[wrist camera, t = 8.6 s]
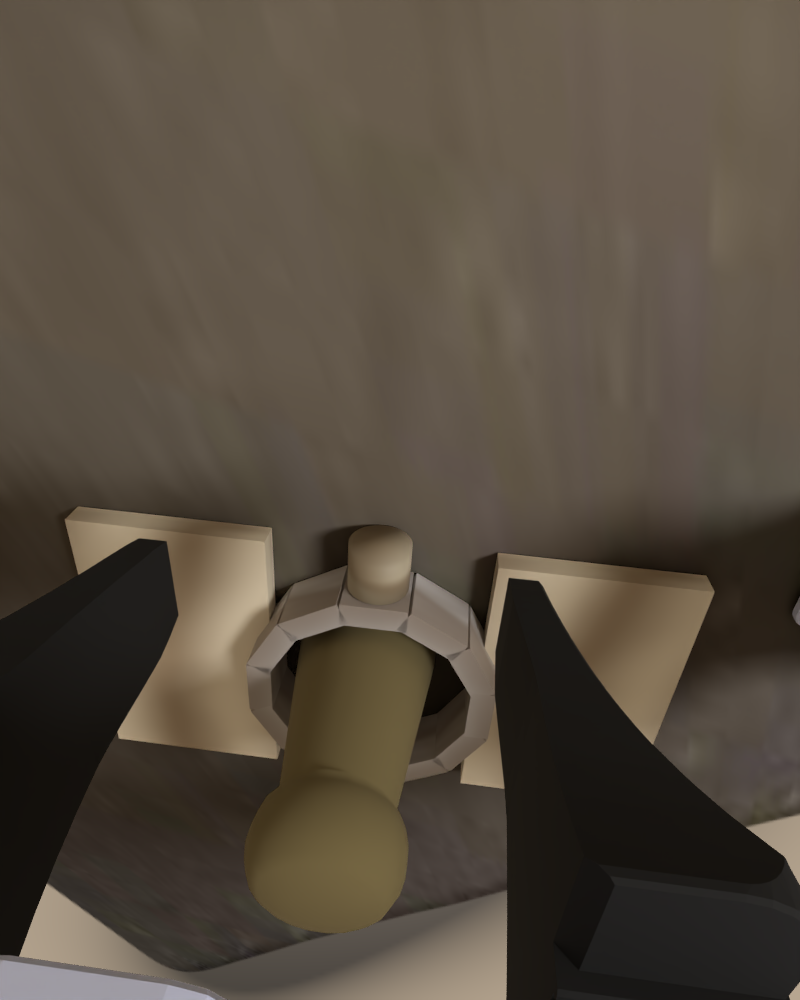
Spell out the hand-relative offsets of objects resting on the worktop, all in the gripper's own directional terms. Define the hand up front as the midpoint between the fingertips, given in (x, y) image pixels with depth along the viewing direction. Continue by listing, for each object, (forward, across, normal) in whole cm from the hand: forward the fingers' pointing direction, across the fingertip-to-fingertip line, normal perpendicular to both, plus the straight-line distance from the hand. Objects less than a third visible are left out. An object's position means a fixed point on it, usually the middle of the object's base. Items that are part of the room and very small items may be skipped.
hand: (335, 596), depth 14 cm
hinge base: (+10, 0, +12) cm, 16 cm away
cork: (+11, 0, +12) cm, 16 cm away
